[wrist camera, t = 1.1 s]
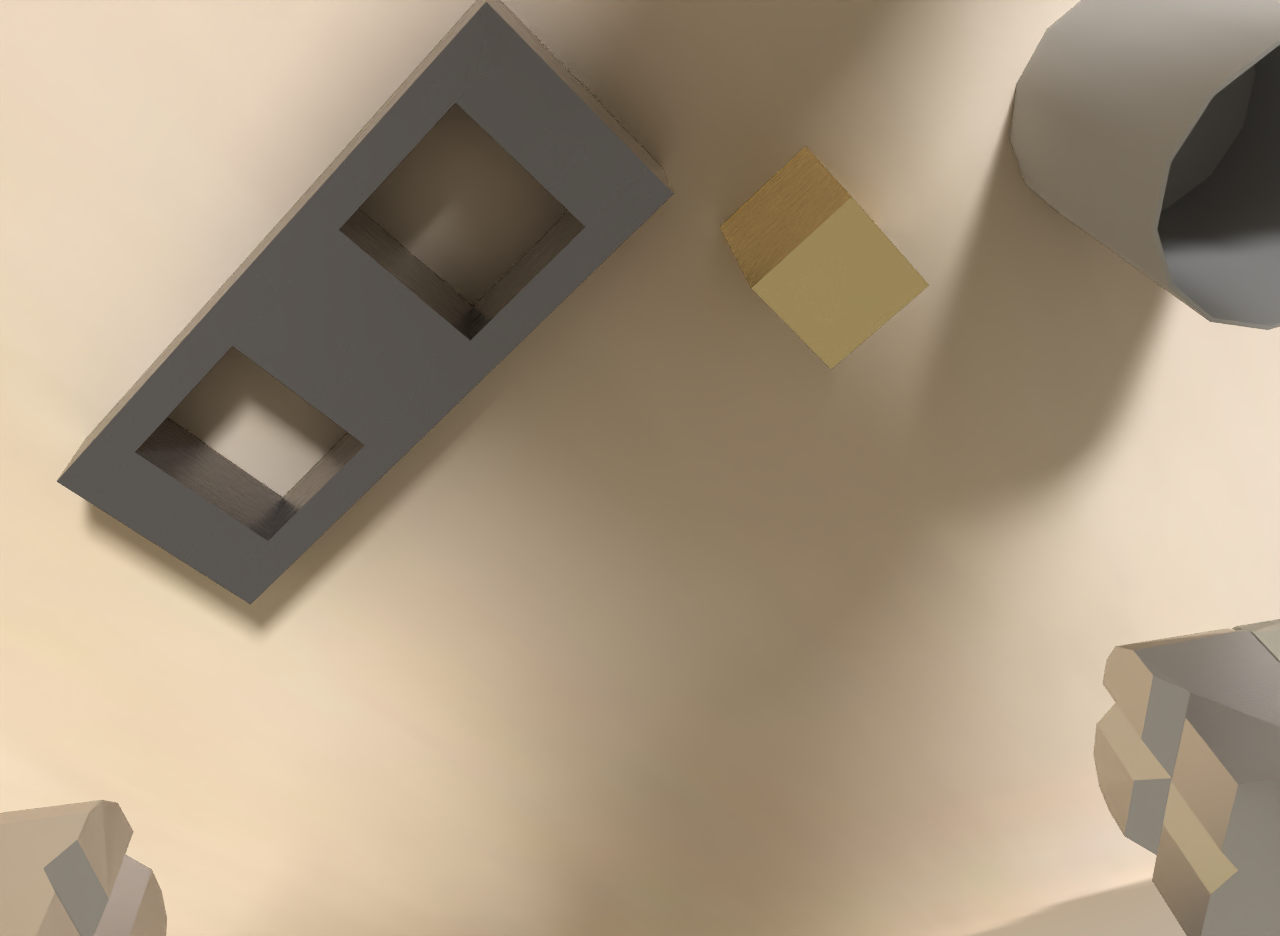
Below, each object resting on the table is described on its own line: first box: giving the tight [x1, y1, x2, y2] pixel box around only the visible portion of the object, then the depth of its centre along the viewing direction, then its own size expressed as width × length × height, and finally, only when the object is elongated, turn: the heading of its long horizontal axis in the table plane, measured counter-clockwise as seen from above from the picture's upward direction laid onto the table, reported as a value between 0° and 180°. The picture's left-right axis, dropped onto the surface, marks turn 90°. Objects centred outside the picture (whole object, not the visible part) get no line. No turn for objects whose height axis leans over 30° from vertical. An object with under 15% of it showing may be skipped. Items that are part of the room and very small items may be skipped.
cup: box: [1010, 0, 1280, 330], centre depth 34 cm, size 8×8×10 cm
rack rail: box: [57, 0, 674, 604], centre depth 38 cm, size 22×8×3 cm, turn 134°
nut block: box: [720, 146, 929, 369], centre depth 37 cm, size 4×4×6 cm
